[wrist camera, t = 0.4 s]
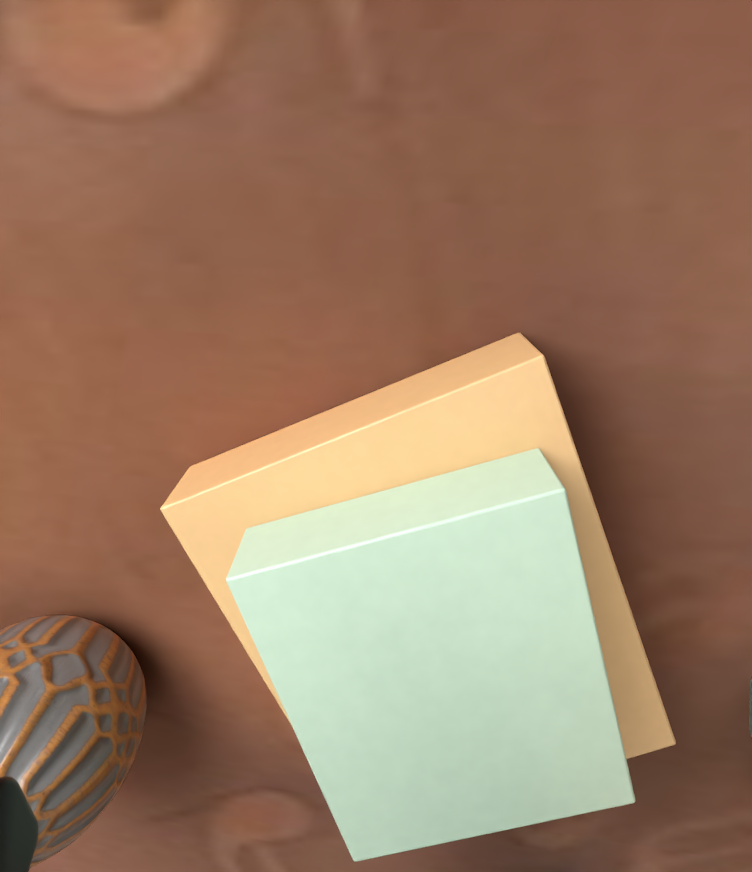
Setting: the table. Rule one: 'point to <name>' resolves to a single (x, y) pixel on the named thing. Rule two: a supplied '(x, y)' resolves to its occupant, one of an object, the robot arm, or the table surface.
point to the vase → (68, 721)
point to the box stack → (432, 604)
